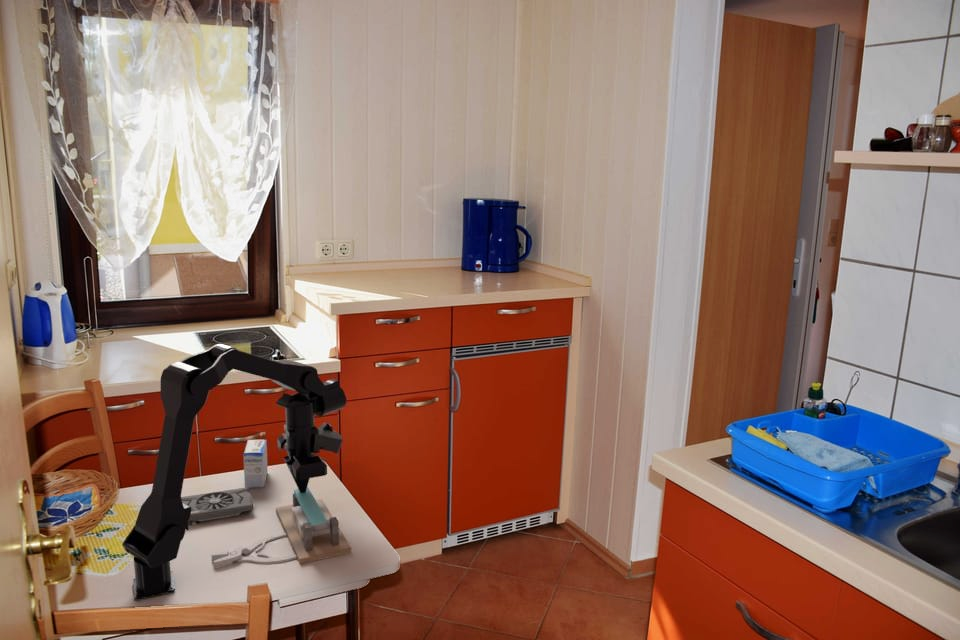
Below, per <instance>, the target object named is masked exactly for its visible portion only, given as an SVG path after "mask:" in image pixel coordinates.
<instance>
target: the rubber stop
mask: <svg viewBox="0 0 960 640" xmlns="http://www.w3.org/2000/svg"><path fill="white" fill-rule="evenodd" d="M292 504H293V507H297V506H300V504H299V502H298V500H297V498H296V496H295V494H294V493H292Z"/></svg>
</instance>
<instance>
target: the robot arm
mask: <svg viewBox="0 0 960 640" xmlns="http://www.w3.org/2000/svg"><path fill="white" fill-rule="evenodd" d="M232 370H236V371H238V372H239V371H240V372H243V373H247V374H249V375H254V376H257V377H258V376H259V377H261V378H265V379H269V380H271V381H272V382H273V383H275V384H277V385H279V386H281V387H282V388H285V389H287V390H290V391H293V392H295V393H293V394H289V393H286V392H283V393H282V395H281V397H280V398H278V399H277V400H276V402H275V405H277V406H279V407H282V408H285V424H283V430H284V431H285V433H281V434H280V435H279V436H278V438H277V448H278V449H279V451H283V450H284V449H285V451H286V453H287V455H285V456H283V460H284V462H285V463H286V466H287V467H288V471H289V472H290V474H291V476H292V478H293V481H294V483H295V485H296V487H297V489H299V491H300V493H304V492H306V489H307V487H309V486H308V485H309V482H310V479H314V478H319V477H324V476H326V475H327V474H328V465H327V463H326V462H325V461H324V459H323V458H322V457H320V455H316V454H319V453H321V452H320V451H326V452H330V453H331V452H332V453H333V454H339V453H340V449H341V447H342V444H343V441H344V438H343V437H342V435H341V434H340V433H339V432H337V431H336V430H333V426H332V425H331V424H330V422H323V423H322V424H321V425H320V426H319V427H317V426H316V425H315V422H316V421H315V416H317V417H323V416H325V415H329V414H331V413H333V412H337V411H340V410H343V409H344V408H345V407H346V405H347V396H346V394H345V392H344V389H343V388H342V387H341V385H340V381H339V380H338V379H335V378H331V379H328V380H326V381H325V382H323V381H322V379H320V377H319V373H318V369H317V368H316V367H314V366H312V365H308V364H305V363H302V362H298V361H294V360H285V359H280V360H278V359H277V360H274V359H268V358H265V357H262V356H259V355H255V354H252V353H249V352H246V351H242V350H239V349H237V347H233V346H230V345H227V344H223V343H217V344H215V345H213V346H211V347H210V348H208V349H207V350H205V351H201V352H198V353H196V354H193V355H190V356H187V357H185V358H184V359H182V360H180V361H177V362H173V363H171V364H169V365H168V366H167V367H165V368H164V369H163V370H162V373H161V376H160V393H159V394H160V399H161V403H162V406H163V409H164V419H163V424H162V425H163V426H162V429H161V430H162V431H161V437H160V441H159V442H160V443H159V447H158V454H157V459H156V464H155V472H154V477H153V482H152V483H153V484H152V489H151V492H150V494H149V496H148V497H146V499H145V501H144V502H143V503H142V505H141V506H140V508H139V512H138V515H137V518H136V520H135V524H134V526H133V527H132V529H131V531H130V532H129V533H128V535H127V536H126V538H125V539H124V541H123V542H122V545H121V546H122V547H123V550H124V551H125V552H126V554H129V555H131V556H133V568H134V576H135V577H134V578H133V579H132V583H133V598H134V600H136V601H138V600H142V599H148V598H150V597H156V596H161V595H165V594H169V593H173V592H175V591H176V586H175V581H174V580H175V579H174V574H173V570H171V561H174V560H175V559H177V558H178V553H179V549H180V546H181V542H182V541H183V539H184V537H185V534H186V531H189V530H190V528H189V526H190V525H188V523H189V522H188V521H189V517H190V514H191V507H189V506H188V505H186V504H184V503H182V499H181V497H182V491H183V485H184V481H185V480H184V479H185V474H186V468H187V464H188V463H187V462H188V458H189V451H190V446H191V445H190V444H191V440H192V433H193V429H194V422H195V418H196V416H197V415H198V414H199V412H200V411H201V410H202V408H203V407H204V406H205V404H206V402H207V400H208V396H209V394H210V391H211V390H212V389H214V388H216V387H217V386H219V385H220V384H221V383H222V382H223V381H224V379H225V378H226V376H227V375H228V374H229V372H231V371H232Z"/></svg>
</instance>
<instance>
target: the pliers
mask: <svg viewBox="0 0 960 640" xmlns="http://www.w3.org/2000/svg"><path fill="white" fill-rule="evenodd" d="M284 537H287V534H286V533H285V532H283V533H279V534H278V533H277V534H275V535H270V536H266V537H264V538H260V539H259V540H256V541H254V542H252V543H251V544H249V545H248V546H246V547H244V546H239V547H237V548H235V549H233V550H232V551H229V550H224V551H219V552H214V553H211V561H212V562H213V568H214V569H218V568H221V567H225V566H230V565H233V562H238V563H242V562H247V563H248V562H249V563H255V564H267V565H268V564H277V563H278V564H279V563H284V562H290V561H291V560H296V559H297V556H296V555H295V554H293V555H288V556H280V557H273V556H271V555H269V554H266V553H258V552H260V551H261V550H263V548H265V546H266V544H267V543H269V542H271V541H274V540H277V539H280V538H284ZM255 549H256V550H255ZM254 550H255V553H257V554H256V555H257V556H255V555H252V556H250V555H249V556H243V555H247V554H250V553H252V552H253V551H254Z"/></svg>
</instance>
